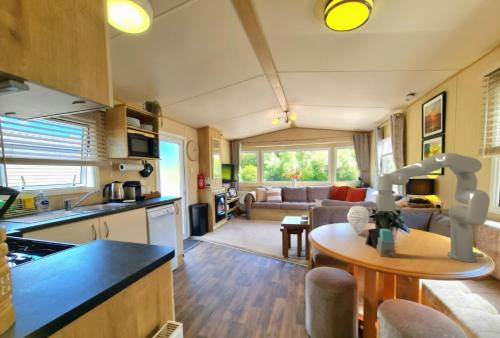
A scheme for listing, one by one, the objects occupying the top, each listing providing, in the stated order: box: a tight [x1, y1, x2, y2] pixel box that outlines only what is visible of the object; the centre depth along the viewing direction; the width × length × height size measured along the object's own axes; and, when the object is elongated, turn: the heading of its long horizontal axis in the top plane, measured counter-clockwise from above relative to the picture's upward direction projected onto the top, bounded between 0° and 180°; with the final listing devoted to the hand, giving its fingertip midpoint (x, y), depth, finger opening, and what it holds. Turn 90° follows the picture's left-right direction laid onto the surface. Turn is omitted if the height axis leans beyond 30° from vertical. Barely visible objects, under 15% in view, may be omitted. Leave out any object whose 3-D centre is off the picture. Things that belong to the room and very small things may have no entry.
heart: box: [346, 205, 370, 235], centre depth 174 cm, size 28×16×22 cm, turn 150°
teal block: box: [379, 228, 393, 241], centre depth 134 cm, size 5×5×6 cm
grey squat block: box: [378, 237, 395, 250], centre depth 134 cm, size 7×7×5 cm
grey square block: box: [376, 245, 397, 259], centre depth 134 cm, size 8×8×5 cm
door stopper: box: [365, 227, 380, 250], centre depth 149 cm, size 9×6×12 cm, turn 14°
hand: (385, 219), depth 134 cm, fingers open, 9 cm apart
